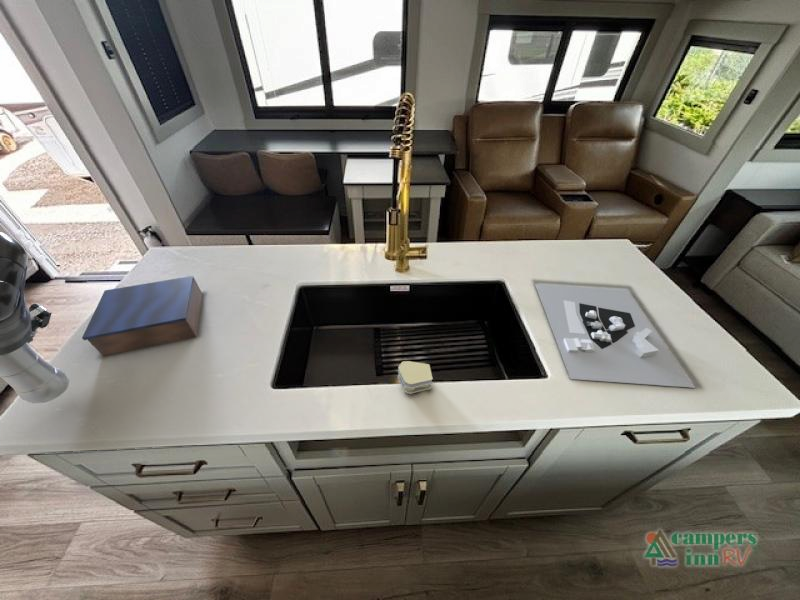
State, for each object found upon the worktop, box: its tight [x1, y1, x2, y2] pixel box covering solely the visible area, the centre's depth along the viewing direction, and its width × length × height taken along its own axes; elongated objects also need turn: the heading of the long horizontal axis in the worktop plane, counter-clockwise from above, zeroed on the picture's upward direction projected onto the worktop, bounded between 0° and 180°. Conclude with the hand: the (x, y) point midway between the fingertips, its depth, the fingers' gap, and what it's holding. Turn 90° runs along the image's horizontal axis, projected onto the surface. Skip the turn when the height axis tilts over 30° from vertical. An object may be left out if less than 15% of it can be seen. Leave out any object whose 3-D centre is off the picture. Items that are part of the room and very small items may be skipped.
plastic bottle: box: [0, 342, 70, 404], centre depth 56 cm, size 6×7×20 cm
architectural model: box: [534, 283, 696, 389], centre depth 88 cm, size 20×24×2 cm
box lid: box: [81, 275, 195, 341], centre depth 80 cm, size 20×17×1 cm
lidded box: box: [87, 278, 203, 357], centre depth 83 cm, size 20×17×7 cm
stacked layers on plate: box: [397, 360, 434, 395], centre depth 72 cm, size 10×9×6 cm
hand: (1, 353), depth 56 cm, fingers closed on plastic bottle, 6 cm apart
